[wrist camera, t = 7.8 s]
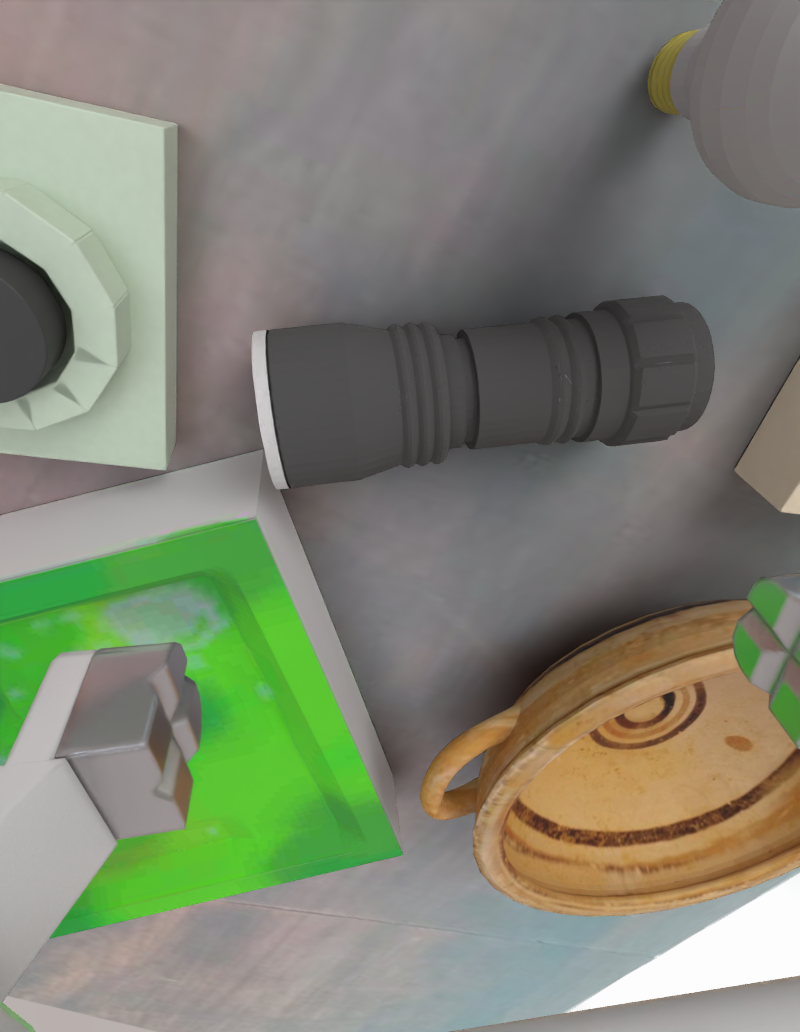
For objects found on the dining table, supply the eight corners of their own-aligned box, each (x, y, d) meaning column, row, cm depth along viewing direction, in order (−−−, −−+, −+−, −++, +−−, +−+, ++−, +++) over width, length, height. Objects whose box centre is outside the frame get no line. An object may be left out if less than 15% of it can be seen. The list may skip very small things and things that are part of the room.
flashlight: (666, 271, 23) (752, 315, 19) (641, 403, 26) (710, 467, 22) (256, 310, 22) (244, 367, 17) (281, 444, 25) (277, 520, 21)
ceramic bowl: (370, 800, 41) (382, 934, 34) (452, 499, 28) (498, 626, 21) (748, 793, 47) (819, 906, 41) (964, 544, 34) (1121, 652, 27)
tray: (393, 776, 40) (403, 854, 36) (24, 864, 40) (-8, 952, 36) (263, 449, 25) (255, 519, 21) (-315, 594, 25) (-433, 689, 21)
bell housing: (-172, 44, 16) (-288, 34, 13) (178, 123, 18) (150, 130, 15) (-81, 413, 22) (-146, 468, 19) (176, 443, 24) (156, 497, 21)
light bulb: (552, 72, 19) (737, 59, 11) (706, -94, 17) (1067, -260, 9) (640, 209, 22) (842, 282, 13) (781, 77, 20) (1112, 70, 12)
